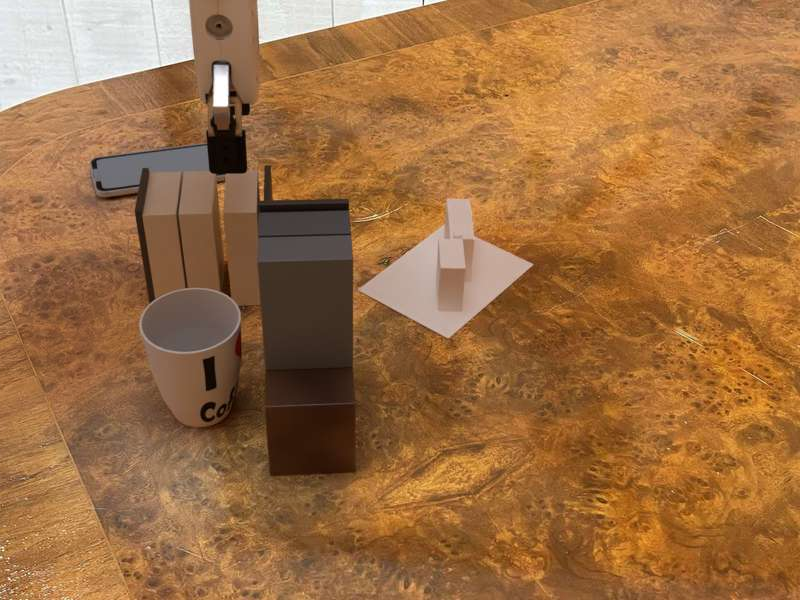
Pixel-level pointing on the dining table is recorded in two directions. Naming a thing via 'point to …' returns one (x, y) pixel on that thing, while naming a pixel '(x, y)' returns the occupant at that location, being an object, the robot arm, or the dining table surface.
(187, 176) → the slotted desk organizer
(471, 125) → the dining table surface
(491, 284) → the napkin holder
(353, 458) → the dark brown box
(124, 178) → the smartphone
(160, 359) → the cup
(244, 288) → the tan rectangular block
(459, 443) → the dining table surface
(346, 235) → the grey books
